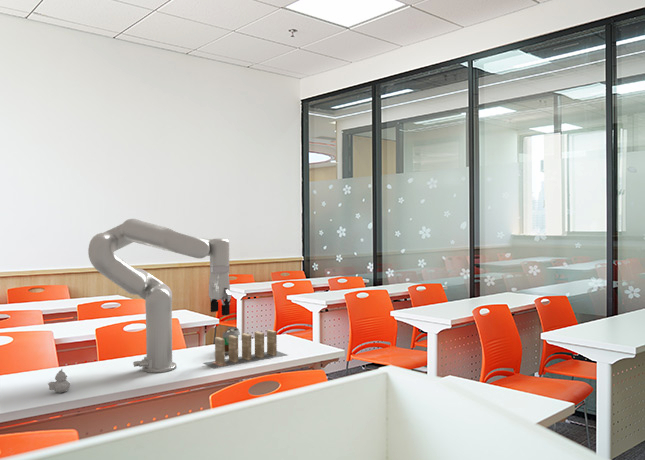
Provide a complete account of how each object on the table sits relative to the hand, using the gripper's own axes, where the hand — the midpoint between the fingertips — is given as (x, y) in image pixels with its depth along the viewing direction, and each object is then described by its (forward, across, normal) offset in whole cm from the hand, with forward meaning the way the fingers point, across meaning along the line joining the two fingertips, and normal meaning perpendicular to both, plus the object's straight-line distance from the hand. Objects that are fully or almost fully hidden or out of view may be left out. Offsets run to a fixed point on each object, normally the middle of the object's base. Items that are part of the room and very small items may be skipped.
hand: (219, 313), depth 215 cm
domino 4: (+20, 0, +18) cm, 27 cm away
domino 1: (+20, 0, 0) cm, 20 cm away
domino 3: (+20, 0, +12) cm, 23 cm away
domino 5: (+20, 0, +24) cm, 31 cm away
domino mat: (+20, 0, +12) cm, 23 cm away
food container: (+20, -14, +13) cm, 28 cm away
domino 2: (+20, 0, +6) cm, 21 cm away
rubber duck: (+20, 0, -58) cm, 62 cm away
